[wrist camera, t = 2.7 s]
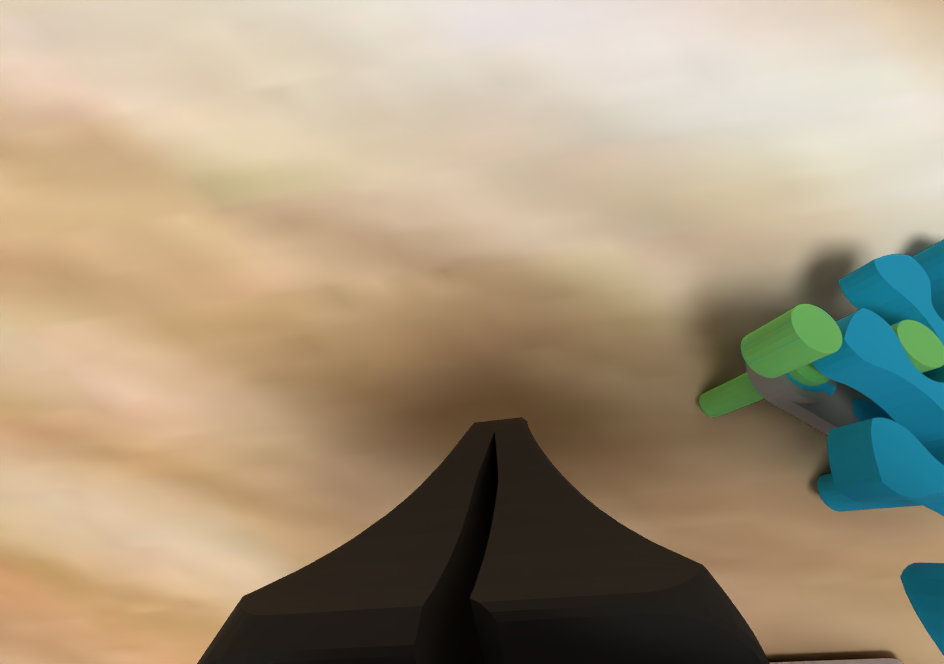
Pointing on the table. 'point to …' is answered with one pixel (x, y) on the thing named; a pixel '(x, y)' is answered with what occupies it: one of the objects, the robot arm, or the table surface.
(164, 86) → the table surface
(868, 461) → the gear
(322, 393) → the table surface
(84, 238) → the table surface
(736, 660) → the robot arm
